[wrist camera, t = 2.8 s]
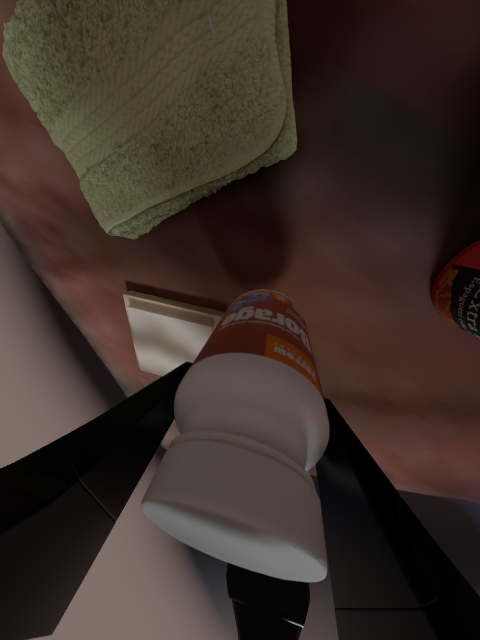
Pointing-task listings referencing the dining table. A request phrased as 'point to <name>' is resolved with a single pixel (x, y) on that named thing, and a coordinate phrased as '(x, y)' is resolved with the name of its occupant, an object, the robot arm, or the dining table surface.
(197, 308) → the stand
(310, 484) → the pill bottle
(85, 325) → the dining table surface
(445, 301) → the canned food
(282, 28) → the washcloth
